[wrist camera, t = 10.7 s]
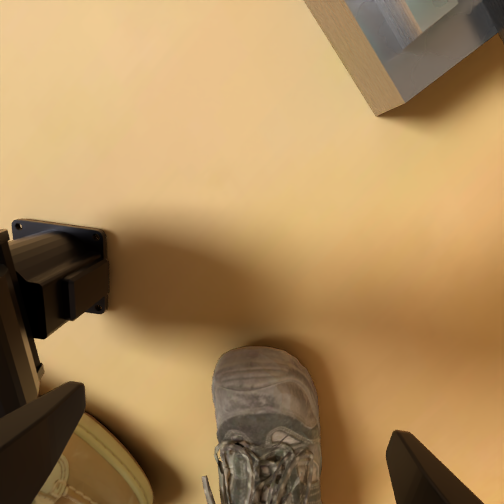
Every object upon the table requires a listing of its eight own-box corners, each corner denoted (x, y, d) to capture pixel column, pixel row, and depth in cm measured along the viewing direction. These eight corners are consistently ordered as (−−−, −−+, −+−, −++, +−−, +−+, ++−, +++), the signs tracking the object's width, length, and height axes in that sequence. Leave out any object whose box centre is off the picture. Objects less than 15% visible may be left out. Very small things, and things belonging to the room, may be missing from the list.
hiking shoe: (339, 335, 20) (240, 536, 11) (352, 513, 28) (301, 716, 19) (230, 310, 25) (101, 433, 16) (267, 467, 33) (195, 609, 24)
